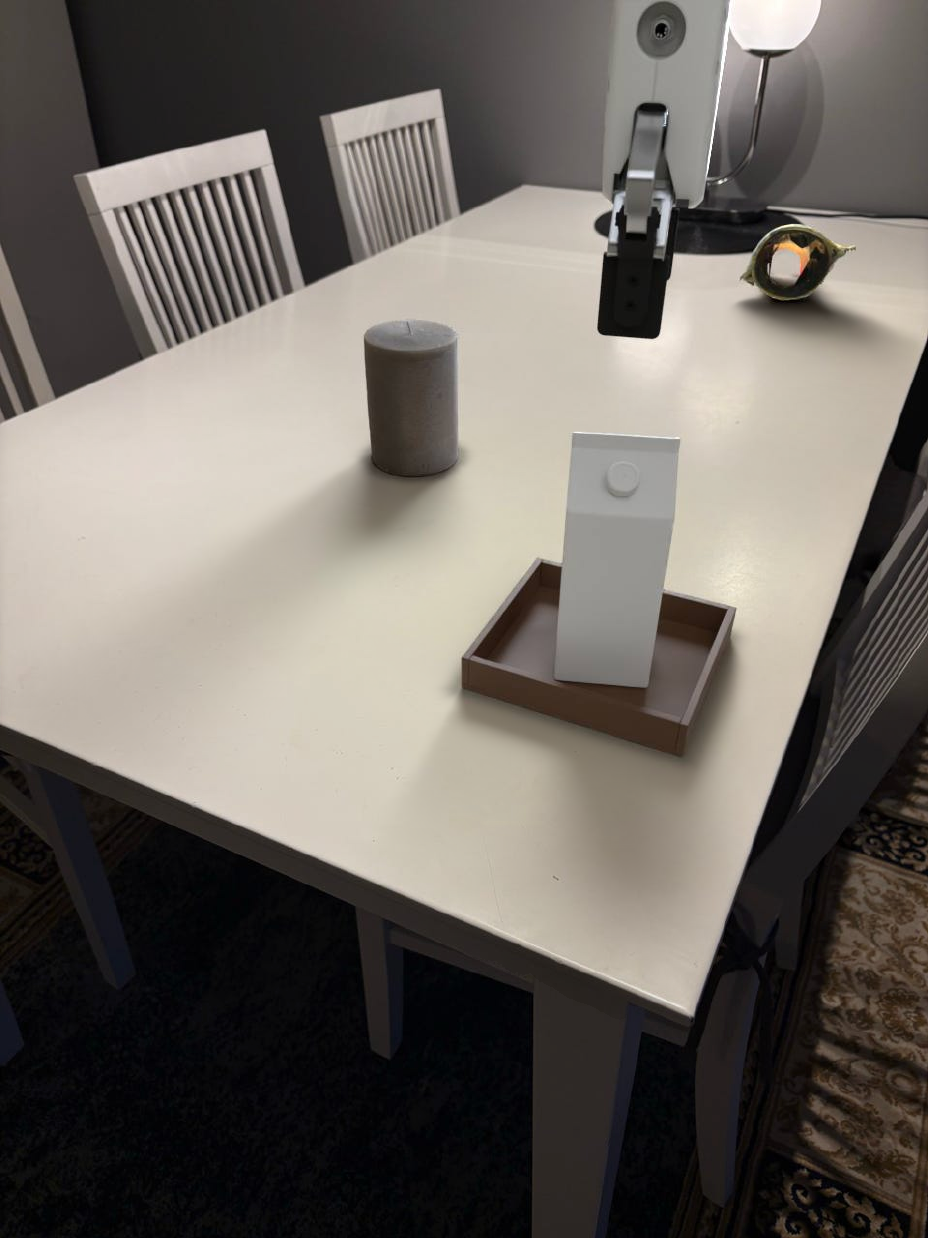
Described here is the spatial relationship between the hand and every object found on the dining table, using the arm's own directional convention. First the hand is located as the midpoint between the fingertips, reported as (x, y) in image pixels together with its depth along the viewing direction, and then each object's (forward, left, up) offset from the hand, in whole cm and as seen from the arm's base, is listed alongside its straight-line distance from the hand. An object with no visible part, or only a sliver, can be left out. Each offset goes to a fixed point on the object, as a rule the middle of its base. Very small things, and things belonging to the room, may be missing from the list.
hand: (636, 304), depth 51 cm
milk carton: (+1, -5, -29) cm, 30 cm away
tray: (+1, -5, -30) cm, 30 cm away
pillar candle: (+31, -30, -30) cm, 52 cm away
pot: (+4, -106, -30) cm, 110 cm away
